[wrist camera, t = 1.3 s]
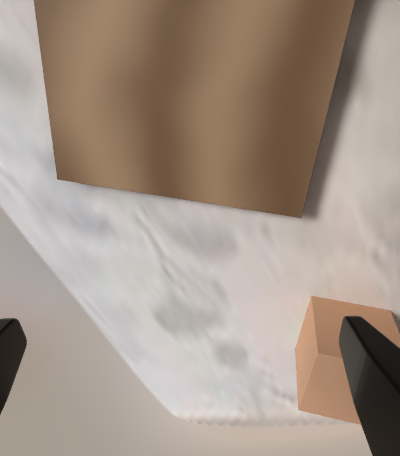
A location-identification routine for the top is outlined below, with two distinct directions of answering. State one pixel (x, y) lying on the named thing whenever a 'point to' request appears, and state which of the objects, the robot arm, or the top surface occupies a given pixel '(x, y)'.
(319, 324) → the terracotta cube
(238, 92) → the walnut board
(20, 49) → the top surface
